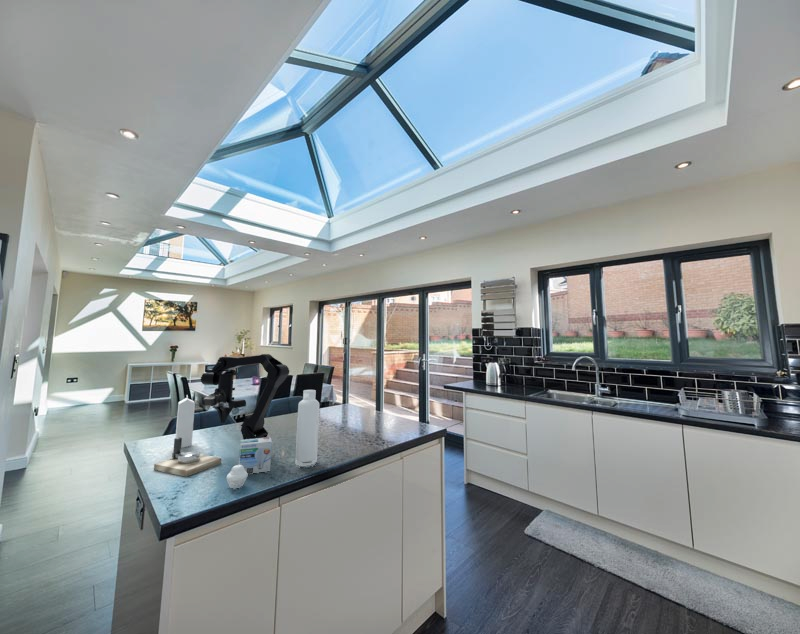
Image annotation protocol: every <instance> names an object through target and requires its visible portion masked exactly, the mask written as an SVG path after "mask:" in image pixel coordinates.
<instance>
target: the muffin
mask: <svg viewBox="0 0 800 634" xmlns="http://www.w3.org/2000/svg"><path fill="white" fill-rule="evenodd" d="M247 478H248V473H247V472H246V471H245V469H244V467H243V466H242V465H239V464H236V465H234V466H232V467H231V470H230V471H229V472H228V473H227V475H226V478H225V479H226V480H227V481H226V482H227V484H228V486H229V488H230V489H231V488H238V487H241V486H242V487H243V486H244V484H245V482H246V480H247ZM242 487H241V488H242Z"/></svg>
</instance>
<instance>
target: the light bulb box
mask: <svg viewBox="0 0 800 634" xmlns="http://www.w3.org/2000/svg"><path fill="white" fill-rule="evenodd" d="M272 449H273V440H272V438H271V436H267V437H266V438H255V439H245V440H243V439H240V444H239V454H238V455H239V456H238V465H242V466H243V467H244V469H245V471H246V472H247V473H248V474H249V475H254V474H253V473H257V474H260V473H259V472H265V473H267V472H266V471H270V472H271V463H272V462H271V461H272Z"/></svg>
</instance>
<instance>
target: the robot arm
mask: <svg viewBox="0 0 800 634" xmlns="http://www.w3.org/2000/svg"><path fill="white" fill-rule="evenodd" d="M260 364H261V366H262V368H263V369H264V371H265V372H266V373H267V375H266V385H265V387H264V389H263V391H262V392H261V395H260V397H259V400H258V401H257V404H256V406H255V408H254V410H253V412H252V414H251V415H248V416H245V417H244V419H243V422H242V424H241V425H240V432H241V435H242V440H245V439H255V438H266V437H268V435H269V432H268V431H267V430H266V428H265V427H264V425H265V416H266V414H267V411H268V409H269V408H270V405H271V403H272V401H273V398H274V397H275V395H276V394H277V393H276V392H277V391H278V388H279V387H280V386H281V385H282V384H283V383H284V381H286V380H287V377H288V376H289V374H290V369H289V367H288V365H286V364H284V363H282V362H281V361H279V360H278V359H277V358H274V356H272V355H271V354H270V353H261V354H258V355H257V354H256V355H249V356H247V355H246V356H235V355H234V356H229V355H228V356H220V357H218V359H217V361H216V363H215V365H214V366H213V367H212V368H205V370H204V372H203V373H202V375H201V376H200V382H201V384H202V385H205V386H217V388H215V389H214V392H213V393H211V394H208V395H207V396H205V397H204V398H203V400H202V403H201V404H202V406H207V407H208V406H210V407H212V408H213V409H215V410H216V412H217V413H218V416H219V421H220V423H221V424H225V423H226V420H227V419H228V418H229V415H230V414H231V412H232V411H233V409H239V408H243V407H247V401H246V400H245V399H243V398H236V399H235V397H234V396H233V393H234V391H236V387H234V376H239V373H238V372H237V370H235V369H238V368H240V367H244V366H250V365H260Z"/></svg>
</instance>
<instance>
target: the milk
mask: <svg viewBox="0 0 800 634" xmlns="http://www.w3.org/2000/svg"><path fill="white" fill-rule="evenodd" d="M195 408H196V402H195V401H194V400H192V399H190V398H189V396H188V394H186V397H185V398H183V399H182V400H180V401H178V403H177V414H176V415H177V416H176V427H175V428H176V429H175V438H182V444H181V447H182V448H189V447H193V446H192V445H193V433H194V420H195ZM175 438H174V439H175ZM188 446H189V447H188Z"/></svg>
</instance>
